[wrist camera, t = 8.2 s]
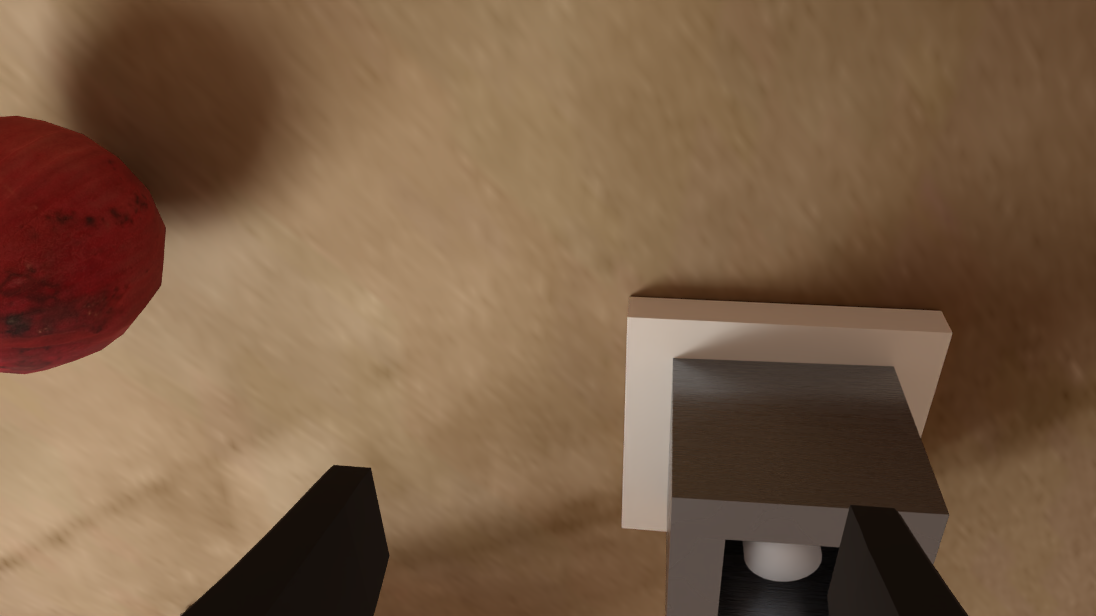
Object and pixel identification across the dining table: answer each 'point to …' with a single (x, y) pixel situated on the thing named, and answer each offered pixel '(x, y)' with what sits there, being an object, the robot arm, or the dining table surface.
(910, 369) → the post block
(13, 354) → the onion
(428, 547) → the dining table surface
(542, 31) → the dining table surface
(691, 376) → the collar
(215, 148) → the dining table surface
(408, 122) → the dining table surface
